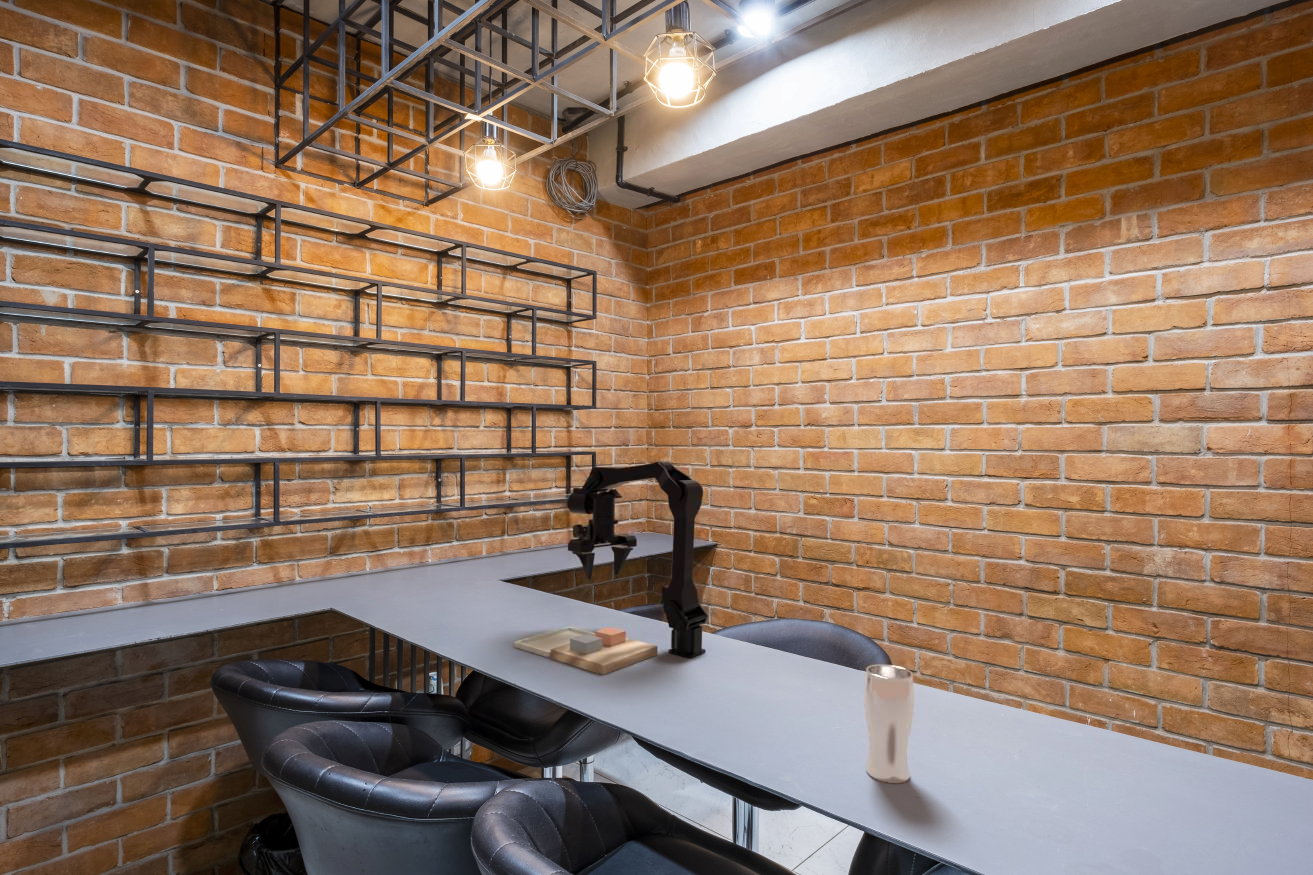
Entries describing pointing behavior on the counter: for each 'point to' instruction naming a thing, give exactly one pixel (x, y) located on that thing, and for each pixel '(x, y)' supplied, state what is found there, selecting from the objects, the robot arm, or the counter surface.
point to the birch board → (606, 656)
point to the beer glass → (888, 721)
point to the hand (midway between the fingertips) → (602, 577)
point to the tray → (549, 640)
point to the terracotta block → (611, 636)
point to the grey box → (586, 644)
